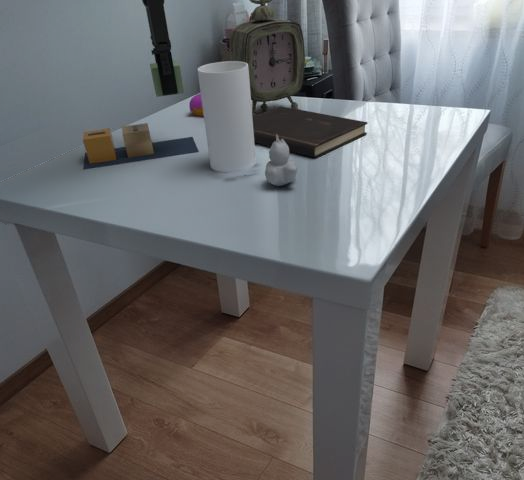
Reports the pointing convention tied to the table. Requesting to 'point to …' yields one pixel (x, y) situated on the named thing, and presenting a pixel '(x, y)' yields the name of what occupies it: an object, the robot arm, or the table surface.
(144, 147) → the light wooden block
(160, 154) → the word mat
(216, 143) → the cup
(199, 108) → the purple rounded lump
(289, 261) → the table surface
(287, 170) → the rubber duck
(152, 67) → the pale green block
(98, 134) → the amber wooden block
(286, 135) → the hardcover book
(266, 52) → the tabletop clock
